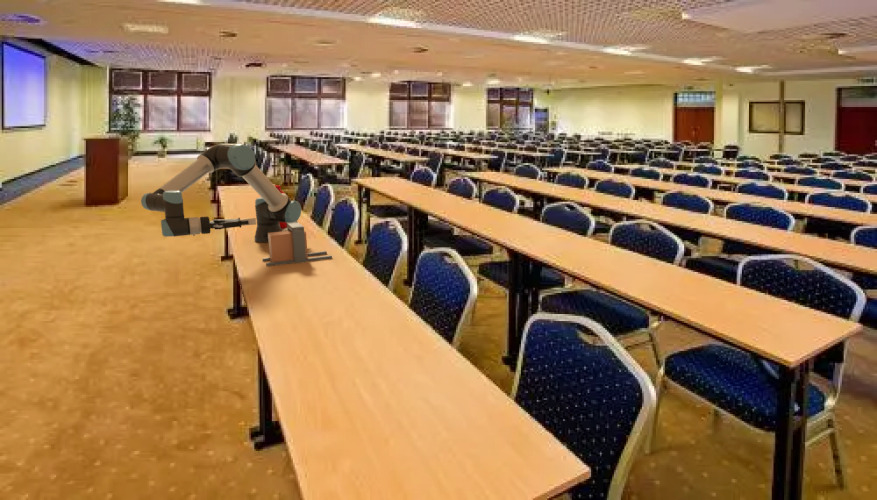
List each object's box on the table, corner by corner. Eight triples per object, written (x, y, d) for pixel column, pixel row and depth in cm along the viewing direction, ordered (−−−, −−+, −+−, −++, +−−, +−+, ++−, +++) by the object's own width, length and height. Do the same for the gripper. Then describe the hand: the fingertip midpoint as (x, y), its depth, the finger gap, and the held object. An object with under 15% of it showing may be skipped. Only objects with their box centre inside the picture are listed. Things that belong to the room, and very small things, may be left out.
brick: (272, 263, 277) (270, 235, 274) (270, 260, 283) (267, 232, 280) (307, 259, 284) (306, 232, 281) (304, 256, 290) (302, 229, 287)
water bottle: (292, 226, 363) (289, 184, 357) (282, 229, 353) (278, 186, 347) (279, 225, 366) (276, 183, 360) (268, 229, 356) (265, 186, 350)
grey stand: (267, 266, 273) (264, 230, 270) (262, 260, 285) (259, 225, 281) (332, 258, 286) (330, 224, 282) (325, 253, 297) (323, 219, 293)
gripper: (199, 231, 274) (254, 227, 284) (201, 236, 262) (258, 231, 272) (198, 214, 272) (252, 211, 282) (200, 219, 261) (257, 215, 270)
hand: (255, 221), depth 277 cm, fingers closed
